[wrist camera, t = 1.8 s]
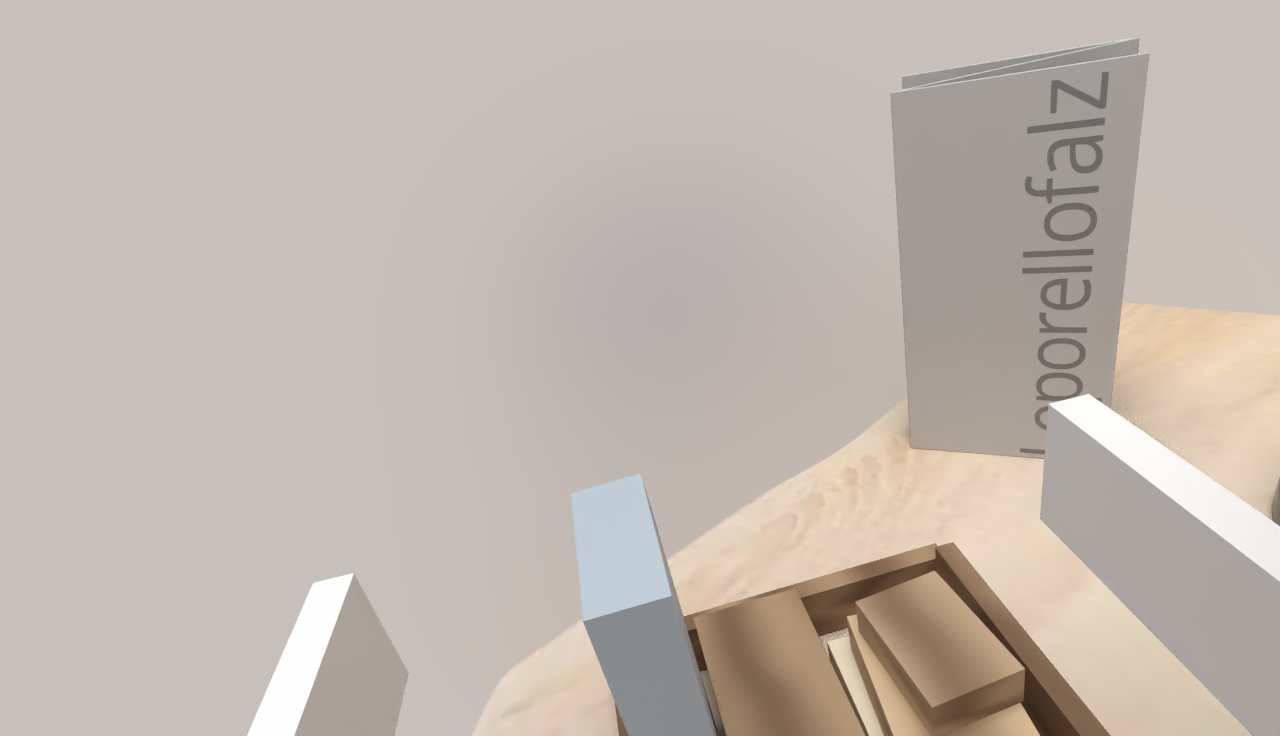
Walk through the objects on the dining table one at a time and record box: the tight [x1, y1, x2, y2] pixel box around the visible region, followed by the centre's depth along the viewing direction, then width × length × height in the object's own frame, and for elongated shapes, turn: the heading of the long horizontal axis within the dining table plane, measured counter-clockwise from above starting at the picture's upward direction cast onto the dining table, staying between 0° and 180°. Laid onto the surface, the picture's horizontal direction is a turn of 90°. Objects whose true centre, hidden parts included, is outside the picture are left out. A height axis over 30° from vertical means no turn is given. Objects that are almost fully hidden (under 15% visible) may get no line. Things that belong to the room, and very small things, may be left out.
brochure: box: [890, 37, 1149, 459], centre depth 52 cm, size 14×6×30 cm, turn 64°
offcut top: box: [855, 571, 1025, 736], centre depth 36 cm, size 5×7×2 cm
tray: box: [615, 542, 1110, 736], centre depth 38 cm, size 23×18×5 cm
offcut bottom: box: [827, 636, 884, 736], centre depth 39 cm, size 8×11×3 cm
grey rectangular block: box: [571, 473, 718, 736], centre depth 34 cm, size 4×8×20 cm, turn 8°
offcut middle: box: [847, 614, 1040, 736], centre depth 37 cm, size 6×9×3 cm
